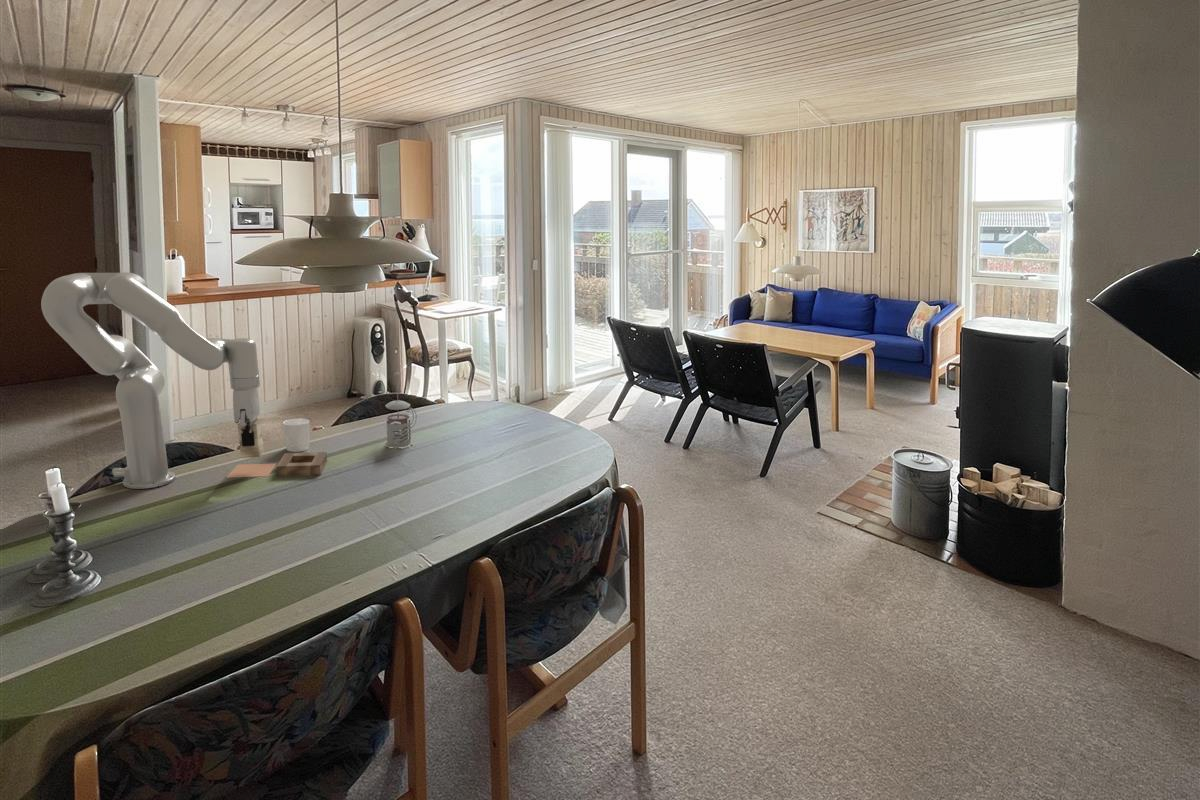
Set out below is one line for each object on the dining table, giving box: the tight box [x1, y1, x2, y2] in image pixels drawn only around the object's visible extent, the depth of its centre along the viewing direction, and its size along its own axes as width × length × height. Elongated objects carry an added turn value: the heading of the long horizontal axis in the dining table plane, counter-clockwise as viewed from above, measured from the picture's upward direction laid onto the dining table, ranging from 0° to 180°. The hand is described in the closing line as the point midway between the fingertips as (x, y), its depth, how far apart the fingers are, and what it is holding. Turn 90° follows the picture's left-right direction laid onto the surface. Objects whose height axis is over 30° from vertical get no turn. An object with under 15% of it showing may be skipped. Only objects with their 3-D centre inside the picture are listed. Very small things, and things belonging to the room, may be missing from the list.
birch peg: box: [237, 418, 265, 459], centre depth 210 cm, size 5×5×10 cm
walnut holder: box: [275, 451, 328, 477], centre depth 215 cm, size 12×12×4 cm
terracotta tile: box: [226, 462, 277, 479], centre depth 213 cm, size 11×11×1 cm
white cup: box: [282, 417, 311, 453], centre depth 232 cm, size 8×8×10 cm
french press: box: [384, 371, 418, 448], centre depth 242 cm, size 10×12×25 cm
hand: (251, 442), depth 210 cm, fingers closed on birch peg, 4 cm apart
